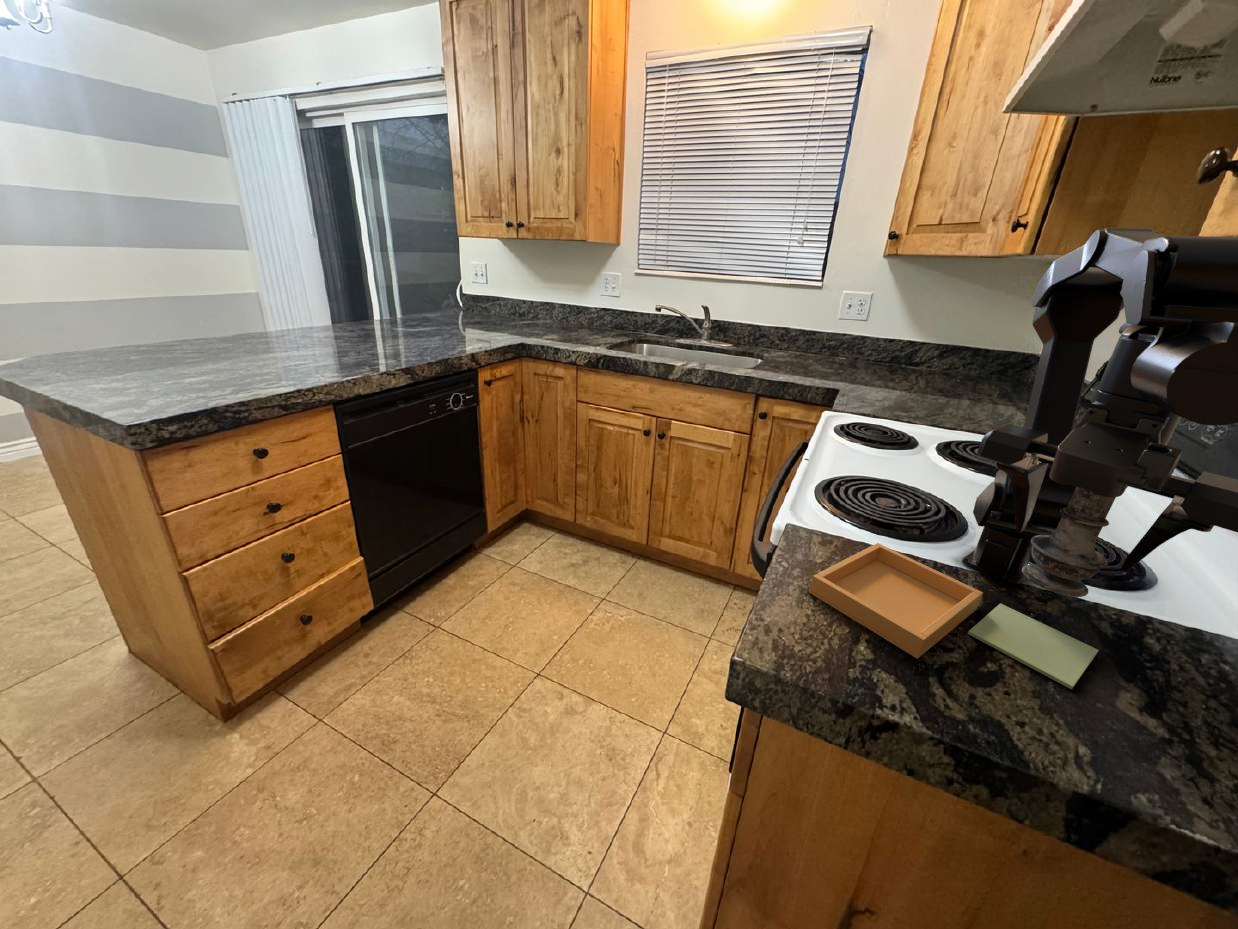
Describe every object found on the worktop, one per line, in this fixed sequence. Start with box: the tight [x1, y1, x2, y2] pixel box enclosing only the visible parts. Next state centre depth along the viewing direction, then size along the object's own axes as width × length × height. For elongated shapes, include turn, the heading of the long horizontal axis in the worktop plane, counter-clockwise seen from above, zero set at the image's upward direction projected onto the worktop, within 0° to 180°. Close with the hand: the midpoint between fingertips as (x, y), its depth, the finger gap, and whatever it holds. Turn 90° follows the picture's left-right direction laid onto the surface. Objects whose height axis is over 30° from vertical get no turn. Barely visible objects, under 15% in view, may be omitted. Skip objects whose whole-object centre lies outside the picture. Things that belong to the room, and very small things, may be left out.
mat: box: [967, 603, 1099, 690], centre depth 53 cm, size 9×9×1 cm
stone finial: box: [1022, 487, 1117, 598], centre depth 48 cm, size 6×6×12 cm
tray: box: [808, 542, 984, 659], centre depth 58 cm, size 15×13×2 cm
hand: (1068, 549), depth 49 cm, fingers closed on stone finial, 8 cm apart
